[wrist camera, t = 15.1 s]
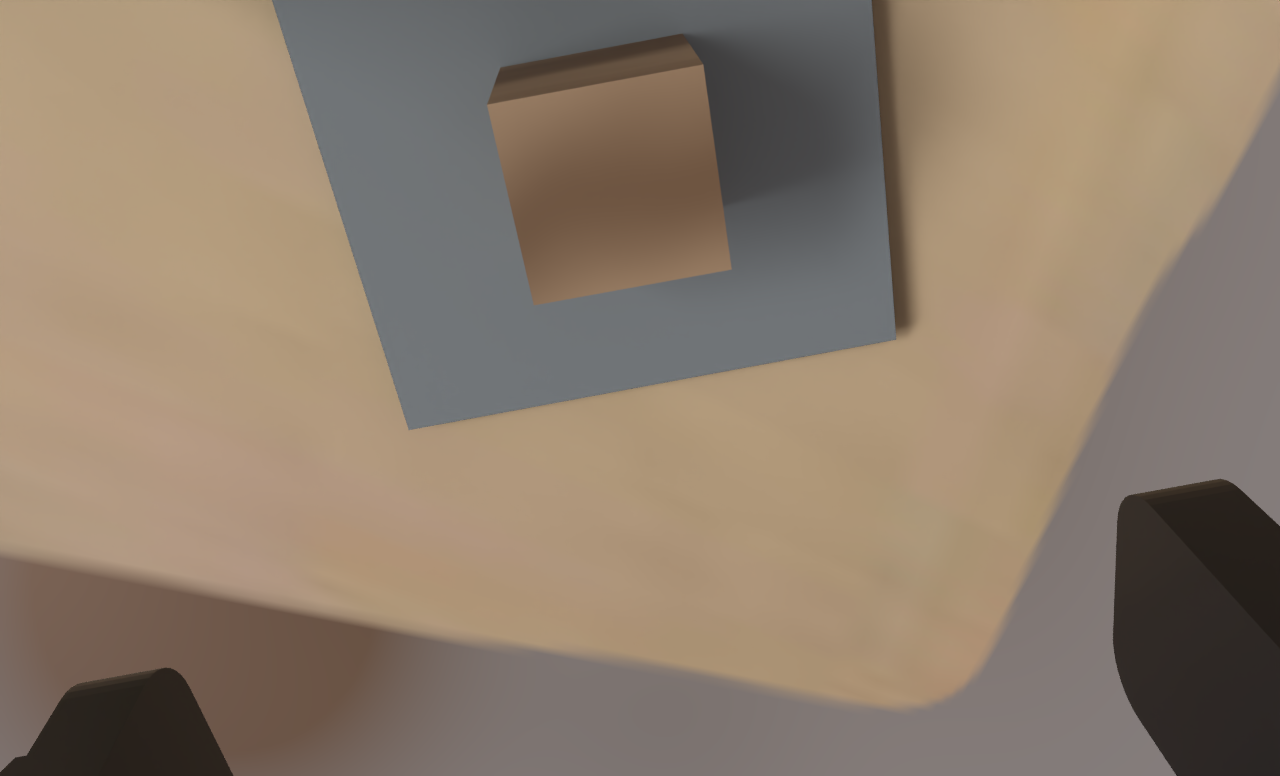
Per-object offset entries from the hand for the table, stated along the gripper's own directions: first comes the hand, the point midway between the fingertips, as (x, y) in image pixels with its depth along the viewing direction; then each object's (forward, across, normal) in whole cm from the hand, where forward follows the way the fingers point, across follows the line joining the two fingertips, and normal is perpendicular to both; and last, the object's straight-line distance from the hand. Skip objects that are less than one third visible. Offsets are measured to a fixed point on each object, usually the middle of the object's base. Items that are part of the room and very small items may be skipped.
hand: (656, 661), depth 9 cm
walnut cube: (+19, 0, 0) cm, 19 cm away
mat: (+20, 0, 0) cm, 20 cm away
